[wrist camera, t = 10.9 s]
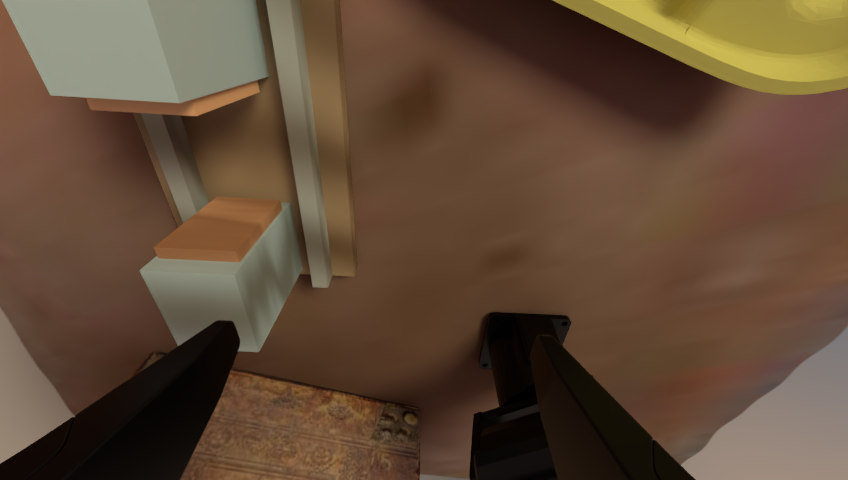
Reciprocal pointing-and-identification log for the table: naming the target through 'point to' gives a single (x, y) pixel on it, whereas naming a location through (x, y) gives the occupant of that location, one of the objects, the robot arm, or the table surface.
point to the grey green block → (145, 52)
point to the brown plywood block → (302, 433)
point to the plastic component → (740, 38)
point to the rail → (258, 184)
